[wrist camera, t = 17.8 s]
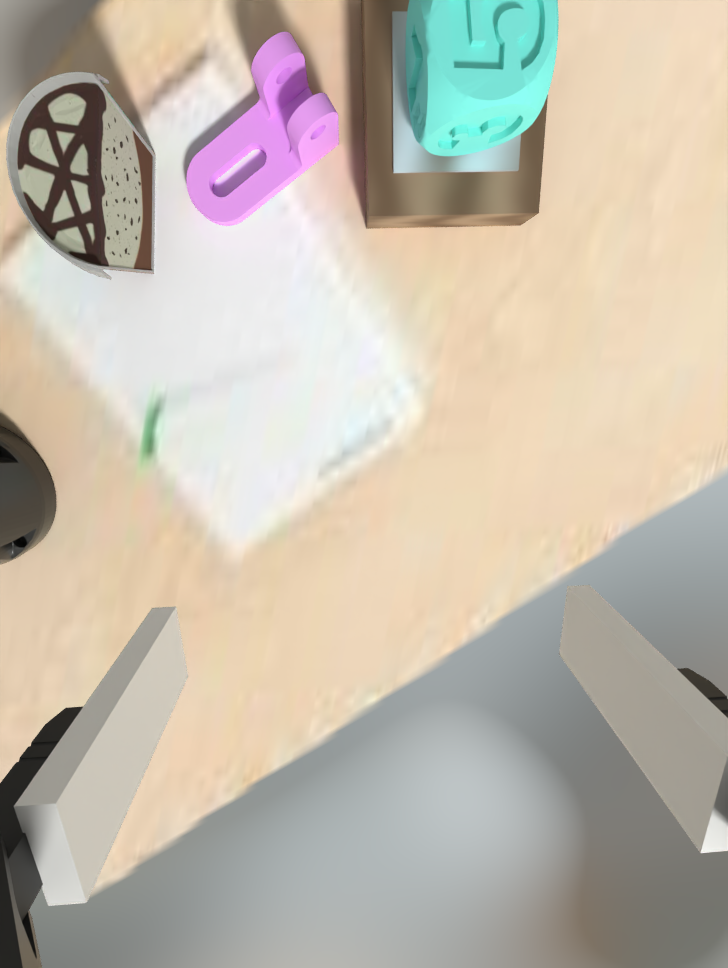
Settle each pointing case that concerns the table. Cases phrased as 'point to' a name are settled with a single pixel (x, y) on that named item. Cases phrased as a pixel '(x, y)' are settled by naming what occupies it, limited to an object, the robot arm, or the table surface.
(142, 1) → the table surface
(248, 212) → the bracket
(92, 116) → the food container
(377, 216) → the plinth
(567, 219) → the table surface
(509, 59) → the decorative dice
